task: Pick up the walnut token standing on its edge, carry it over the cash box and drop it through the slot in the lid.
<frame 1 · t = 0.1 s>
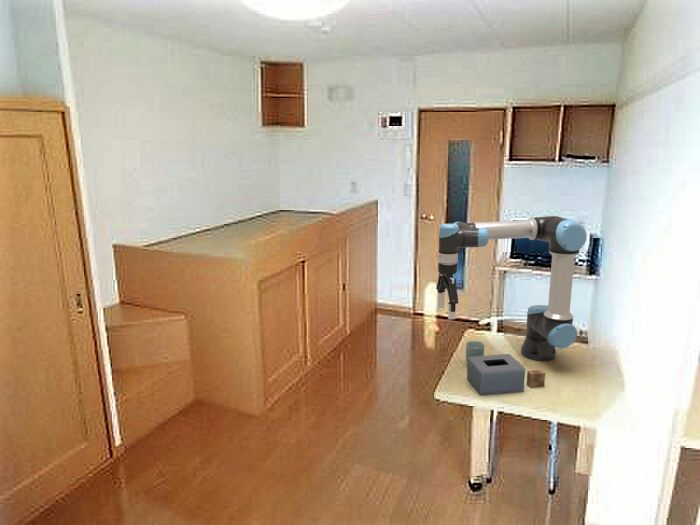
hand: (446, 313, 210), 28 cm above the table, fingers open, 13 cm apart
token: (535, 385, 208), on the table
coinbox: (494, 385, 208), on the table
cup: (474, 366, 226), on the table
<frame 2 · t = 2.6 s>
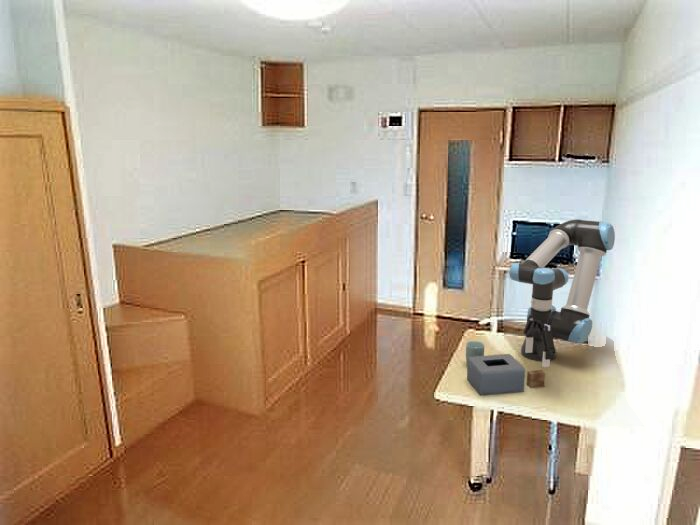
hand: (536, 359, 204), 12 cm above the table, fingers open, 13 cm apart
nothing on the table moved.
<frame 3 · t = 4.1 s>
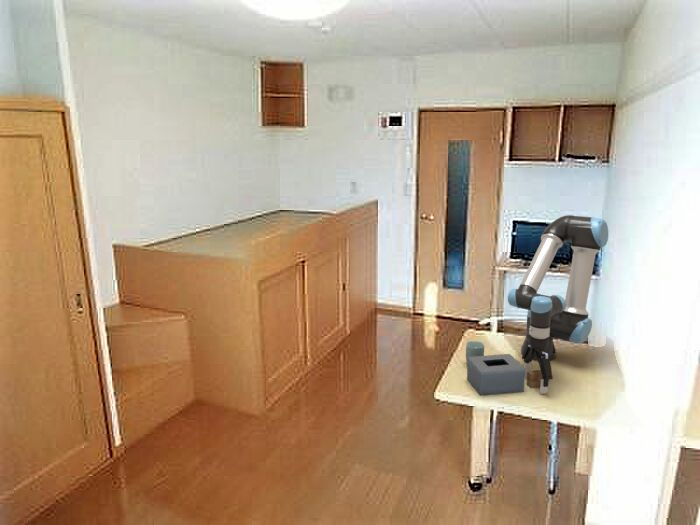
hand: (535, 385, 207), 0 cm above the table, fingers open, 13 cm apart
nothing on the table moved.
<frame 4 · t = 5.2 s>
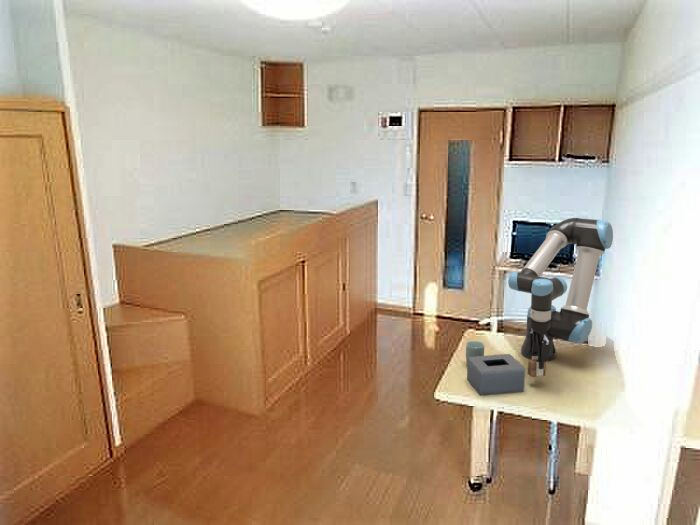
hand: (537, 373, 207), 5 cm above the table, fingers closed on token, 3 cm apart
token: (536, 374, 207), point 5 cm above the table, touching gripper
everything else where it was.
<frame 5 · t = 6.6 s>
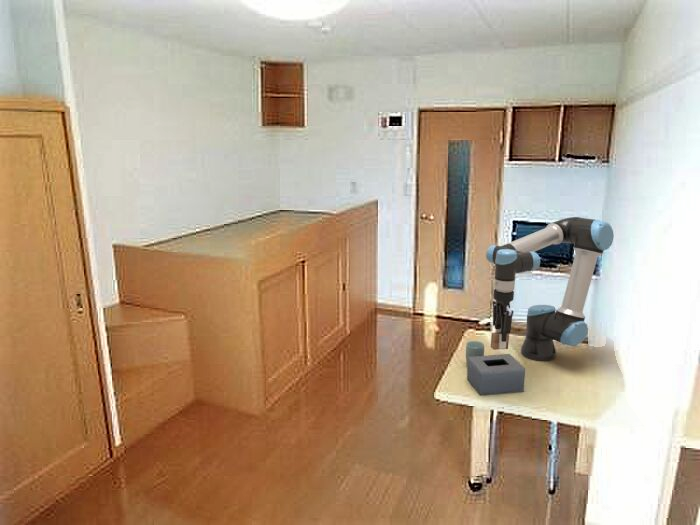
hand: (500, 346, 204), 17 cm above the table, fingers closed on token, 3 cm apart
token: (499, 347, 204), point 17 cm above the table, touching gripper
everything else where it was.
when the fingers open (11 cm above the table, at t = 7.8 s): token drops 10 cm, resting on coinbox.
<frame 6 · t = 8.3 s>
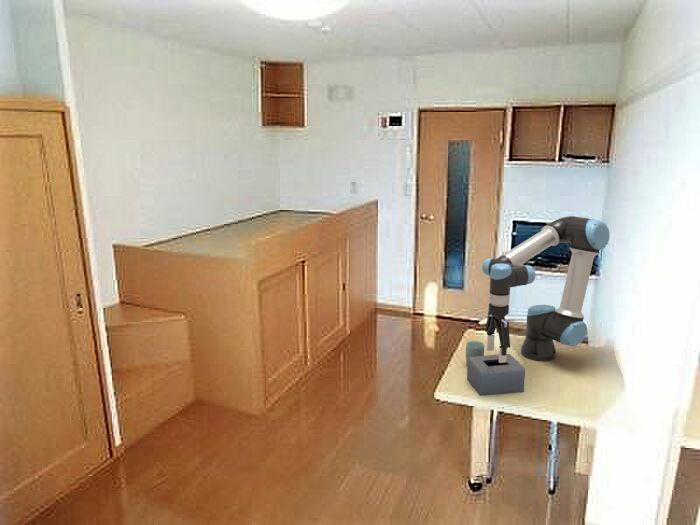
hand: (496, 356, 205), 13 cm above the table, fingers open, 11 cm apart
token: (493, 384, 208), point 1 cm above the table, touching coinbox
everything else where it was.
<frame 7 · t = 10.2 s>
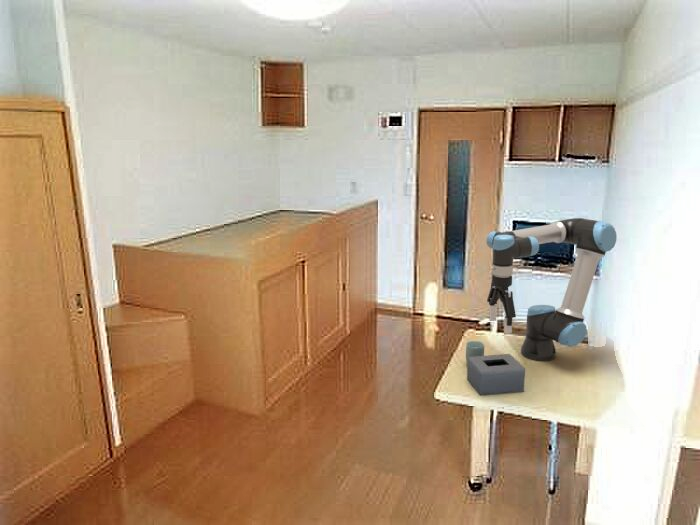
hand: (500, 326, 204), 24 cm above the table, fingers open, 13 cm apart
nothing on the table moved.
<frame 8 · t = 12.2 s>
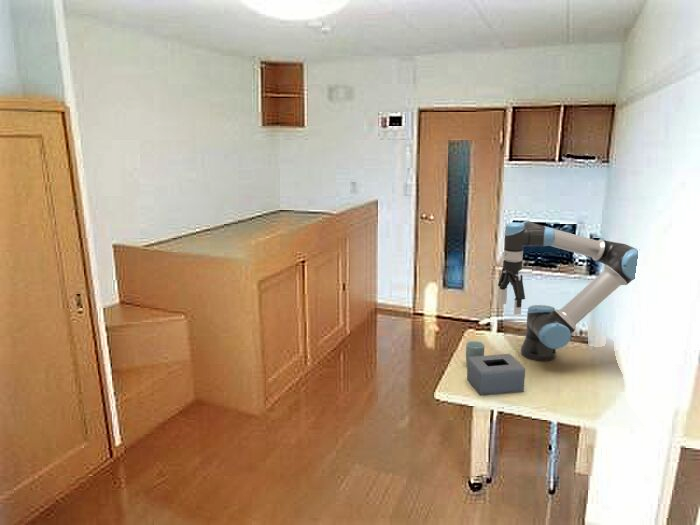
hand: (509, 308, 218), 27 cm above the table, fingers open, 13 cm apart
nothing on the table moved.
at the end: token inside the target area on the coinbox (0.3 cm from its centre), point 0.6 cm above the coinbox's base; the gripper is holding nothing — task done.
